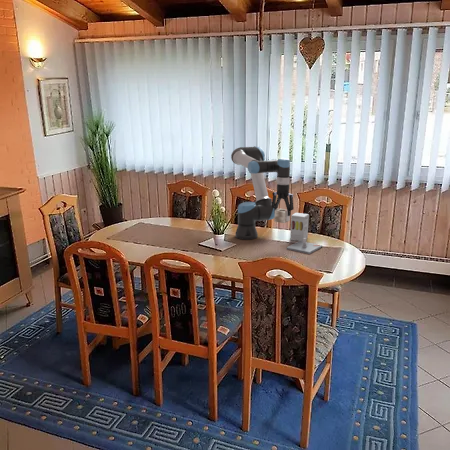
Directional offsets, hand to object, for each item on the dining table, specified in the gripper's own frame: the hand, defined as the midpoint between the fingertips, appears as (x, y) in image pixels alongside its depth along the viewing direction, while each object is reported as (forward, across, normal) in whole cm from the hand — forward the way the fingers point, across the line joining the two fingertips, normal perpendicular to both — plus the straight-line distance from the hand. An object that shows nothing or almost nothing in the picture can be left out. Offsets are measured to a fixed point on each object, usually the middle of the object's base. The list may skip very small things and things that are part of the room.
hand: (282, 219), depth 290 cm
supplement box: (+17, +2, +20) cm, 26 cm away
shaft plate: (+17, +14, +4) cm, 23 cm away
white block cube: (+1, 0, 0) cm, 1 cm away
